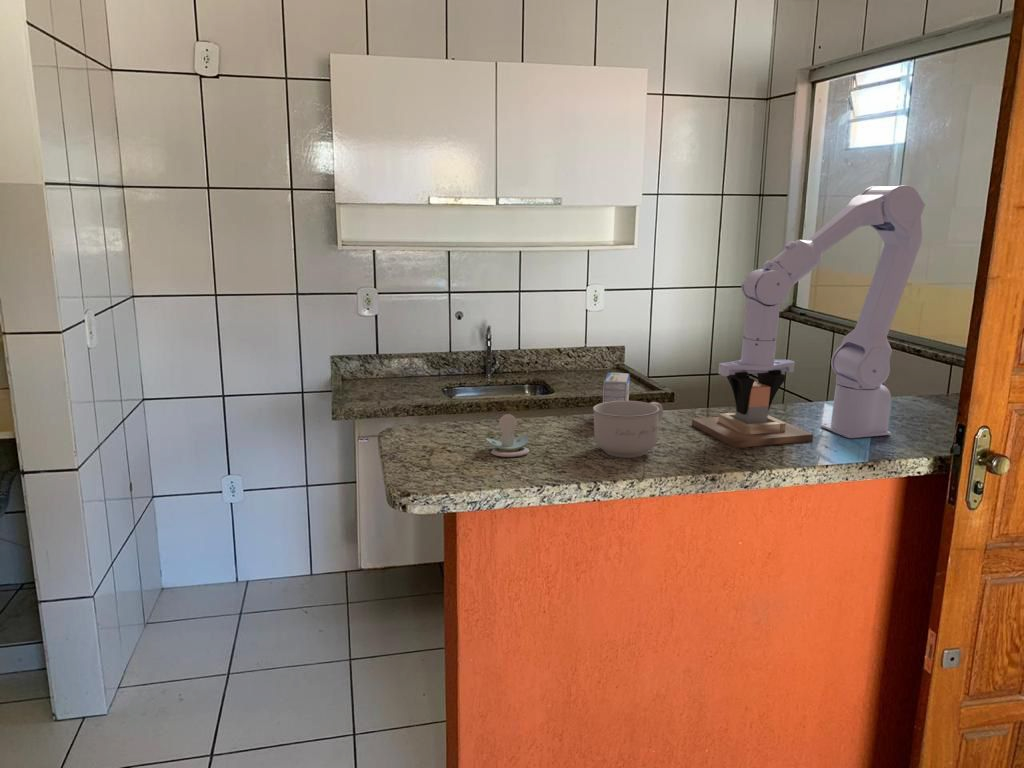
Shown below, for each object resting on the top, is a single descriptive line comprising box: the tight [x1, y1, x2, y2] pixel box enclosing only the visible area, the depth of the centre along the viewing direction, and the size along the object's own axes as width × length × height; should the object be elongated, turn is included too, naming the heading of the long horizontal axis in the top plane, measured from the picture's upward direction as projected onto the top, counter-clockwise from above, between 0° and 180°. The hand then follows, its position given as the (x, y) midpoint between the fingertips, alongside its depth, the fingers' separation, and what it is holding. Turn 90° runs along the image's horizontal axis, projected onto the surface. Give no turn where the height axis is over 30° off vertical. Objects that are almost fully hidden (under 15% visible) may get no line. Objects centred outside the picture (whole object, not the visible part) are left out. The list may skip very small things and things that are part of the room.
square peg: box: [734, 381, 771, 424], centre depth 138 cm, size 4×4×7 cm
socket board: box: [691, 412, 814, 449], centre depth 139 cm, size 16×14×3 cm
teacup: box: [592, 400, 664, 459], centre depth 127 cm, size 14×11×8 cm
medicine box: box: [602, 372, 631, 403], centre depth 144 cm, size 8×4×9 cm, turn 168°
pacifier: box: [485, 413, 530, 458], centre depth 125 cm, size 7×6×6 cm
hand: (752, 412), depth 138 cm, fingers closed on square peg, 4 cm apart
